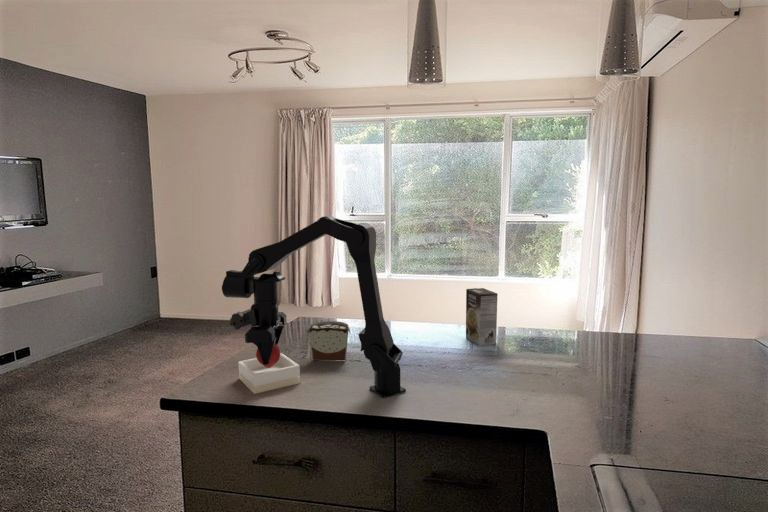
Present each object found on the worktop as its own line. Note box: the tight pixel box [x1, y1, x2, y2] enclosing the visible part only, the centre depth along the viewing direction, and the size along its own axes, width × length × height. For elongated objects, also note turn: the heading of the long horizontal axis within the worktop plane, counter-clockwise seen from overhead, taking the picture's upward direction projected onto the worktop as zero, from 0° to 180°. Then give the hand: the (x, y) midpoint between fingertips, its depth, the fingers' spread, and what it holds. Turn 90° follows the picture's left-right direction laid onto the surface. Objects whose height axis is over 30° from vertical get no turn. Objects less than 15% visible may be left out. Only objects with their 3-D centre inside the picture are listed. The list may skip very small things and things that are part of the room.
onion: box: [255, 343, 281, 368], centre depth 121 cm, size 6×6×8 cm
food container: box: [306, 320, 351, 362], centre depth 139 cm, size 12×6×10 cm, turn 84°
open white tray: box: [238, 352, 301, 395], centre depth 122 cm, size 12×12×4 cm
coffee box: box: [465, 287, 498, 347], centre depth 153 cm, size 9×6×16 cm
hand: (268, 360), depth 121 cm, fingers closed on onion, 6 cm apart
